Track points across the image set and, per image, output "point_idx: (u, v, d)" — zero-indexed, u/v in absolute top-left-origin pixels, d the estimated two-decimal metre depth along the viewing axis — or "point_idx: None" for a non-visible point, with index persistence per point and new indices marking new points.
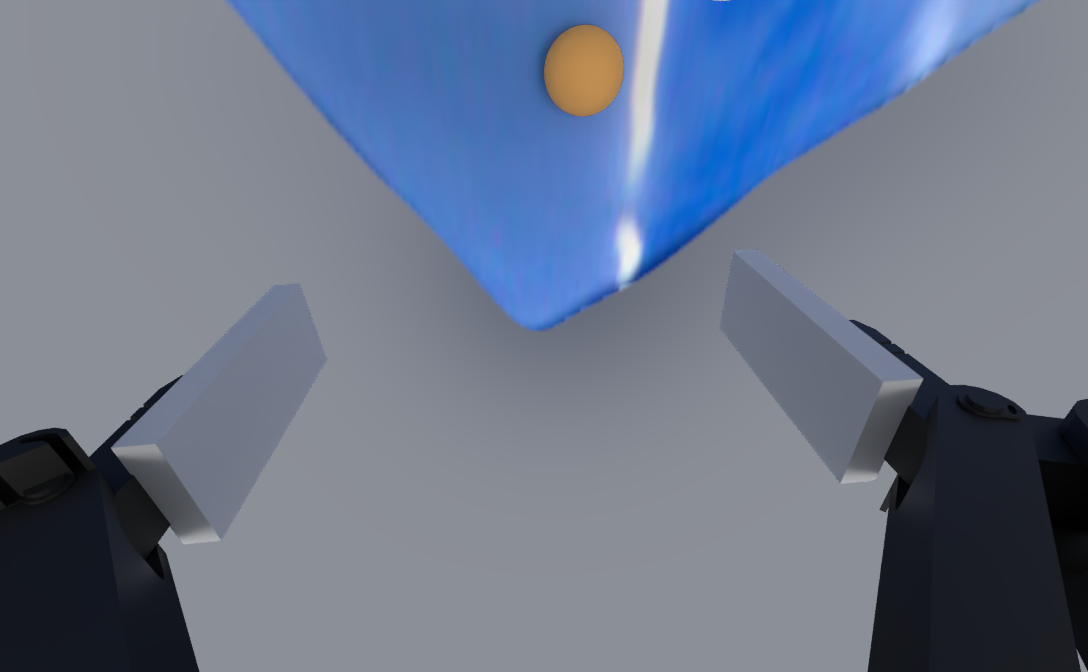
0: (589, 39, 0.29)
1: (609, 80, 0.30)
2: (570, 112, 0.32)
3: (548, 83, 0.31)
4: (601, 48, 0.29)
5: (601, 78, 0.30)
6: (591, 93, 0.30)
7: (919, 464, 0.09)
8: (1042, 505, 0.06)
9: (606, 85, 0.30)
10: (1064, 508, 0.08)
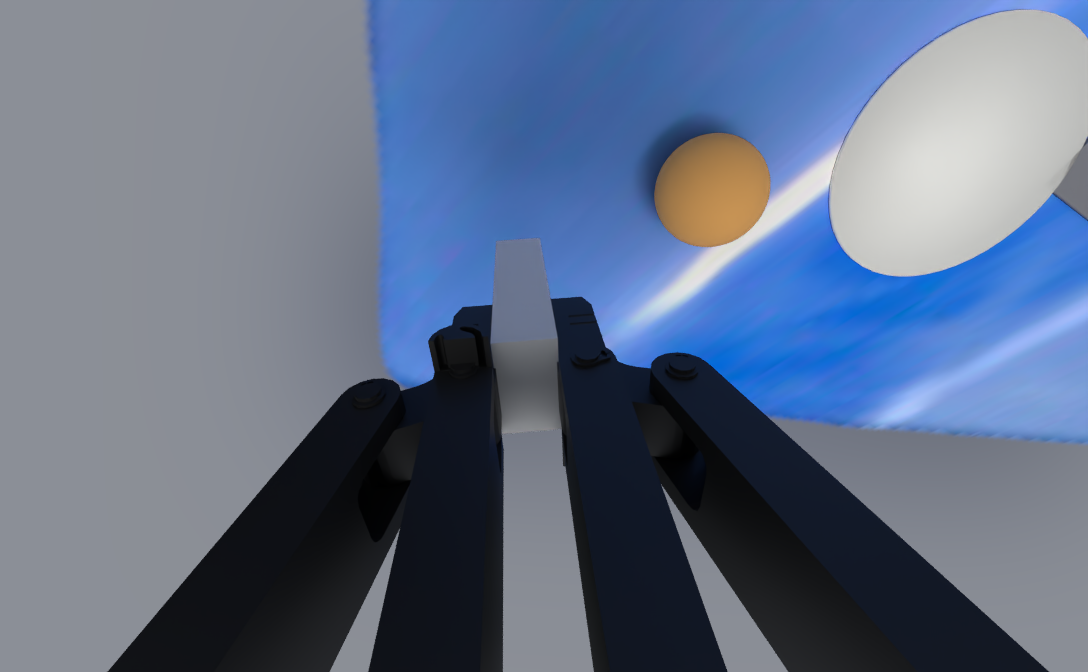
0: (760, 173, 0.21)
1: (737, 230, 0.22)
2: (666, 217, 0.23)
3: (677, 168, 0.22)
4: (762, 194, 0.21)
5: (735, 222, 0.22)
6: (712, 225, 0.22)
7: None
8: (636, 423, 0.08)
9: (730, 232, 0.22)
10: (650, 441, 0.10)
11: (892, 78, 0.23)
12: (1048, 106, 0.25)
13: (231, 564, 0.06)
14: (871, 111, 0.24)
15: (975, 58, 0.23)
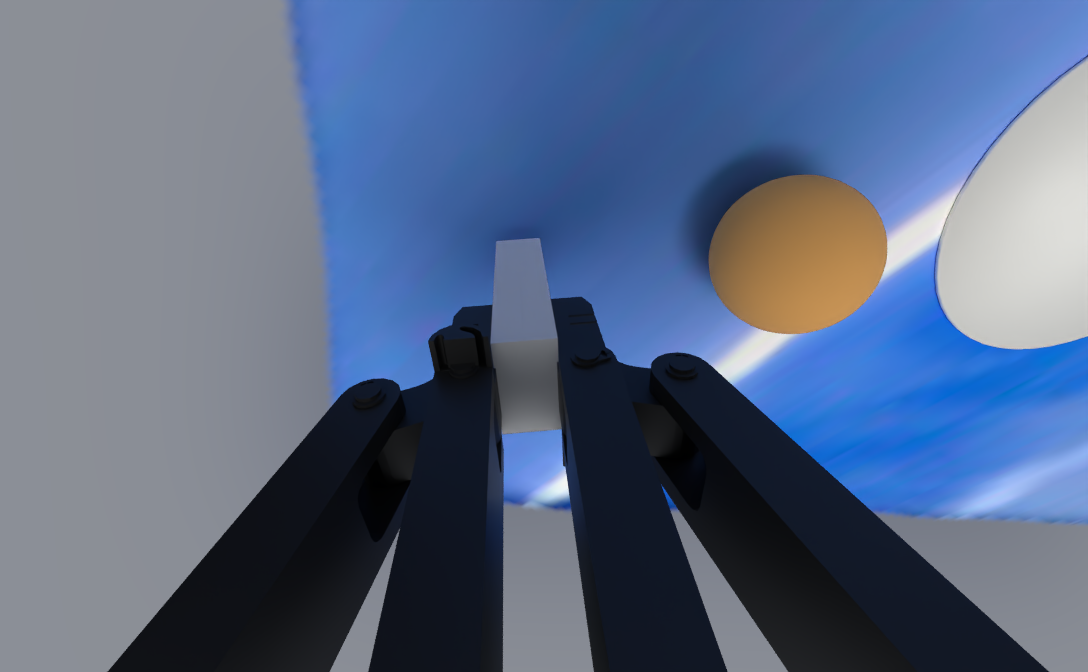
0: (879, 238, 0.14)
1: (838, 318, 0.15)
2: (729, 295, 0.16)
3: (751, 228, 0.15)
4: (880, 268, 0.14)
5: (839, 309, 0.15)
6: (804, 314, 0.15)
7: None
8: (636, 423, 0.08)
9: (828, 321, 0.15)
10: (649, 440, 0.10)
11: (1048, 93, 0.16)
12: None
13: (231, 564, 0.06)
14: (1012, 139, 0.17)
15: None
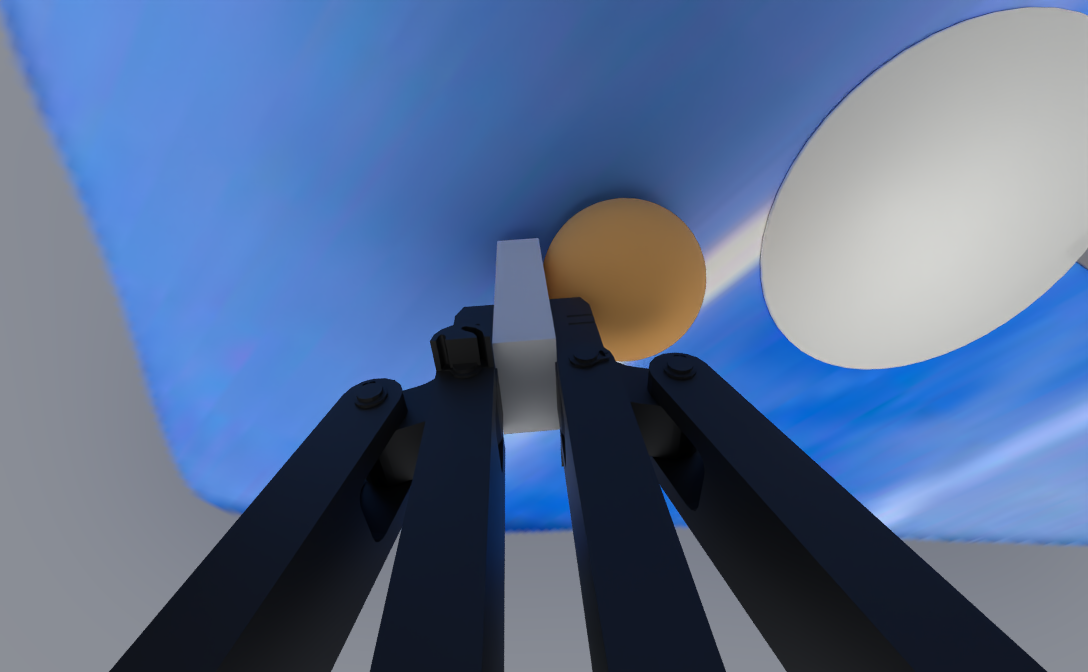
0: (698, 255, 0.14)
1: (679, 337, 0.15)
2: None
3: (580, 265, 0.14)
4: (704, 283, 0.14)
5: (679, 330, 0.14)
6: (649, 342, 0.14)
7: None
8: (634, 423, 0.08)
9: (671, 343, 0.15)
10: (647, 441, 0.10)
11: (837, 111, 0.16)
12: (1071, 147, 0.17)
13: (233, 564, 0.06)
14: (810, 158, 0.17)
15: (961, 80, 0.15)
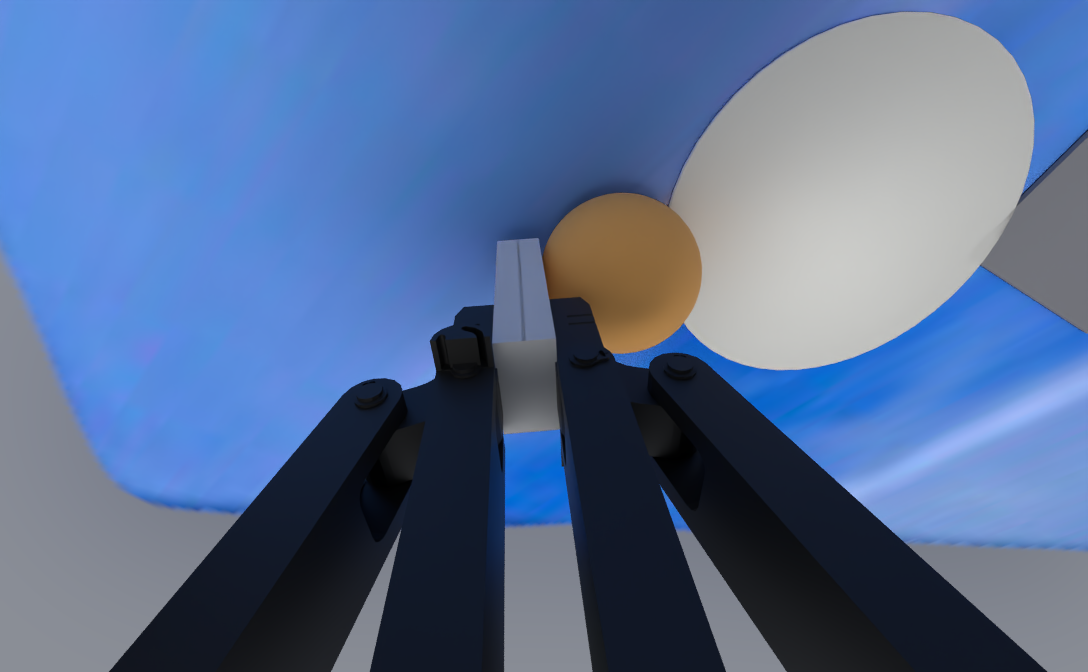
0: (694, 238, 0.15)
1: None
2: None
3: (602, 264, 0.14)
4: None
5: (690, 310, 0.15)
6: (671, 327, 0.15)
7: None
8: (634, 423, 0.08)
9: (682, 323, 0.16)
10: (648, 441, 0.10)
11: (722, 113, 0.16)
12: (961, 152, 0.17)
13: (233, 564, 0.06)
14: (700, 160, 0.17)
15: (844, 84, 0.16)
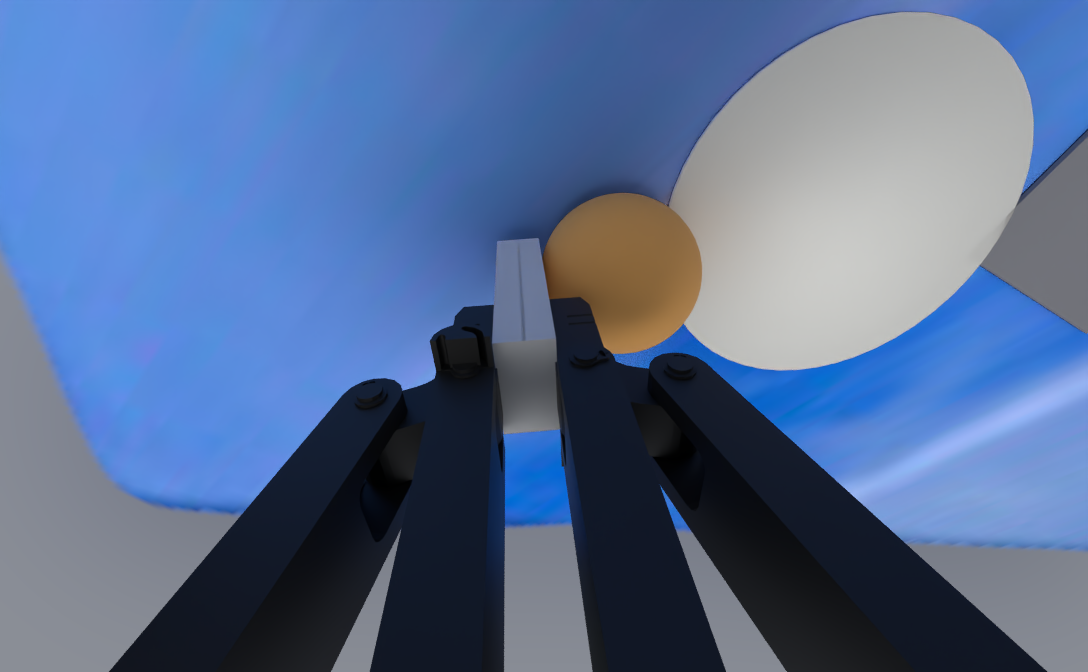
0: (694, 238, 0.15)
1: None
2: None
3: (602, 264, 0.13)
4: None
5: (691, 310, 0.15)
6: (671, 327, 0.15)
7: None
8: (634, 423, 0.08)
9: (682, 324, 0.16)
10: (648, 441, 0.10)
11: (722, 113, 0.16)
12: (961, 152, 0.17)
13: (233, 564, 0.06)
14: (700, 160, 0.17)
15: (843, 84, 0.16)
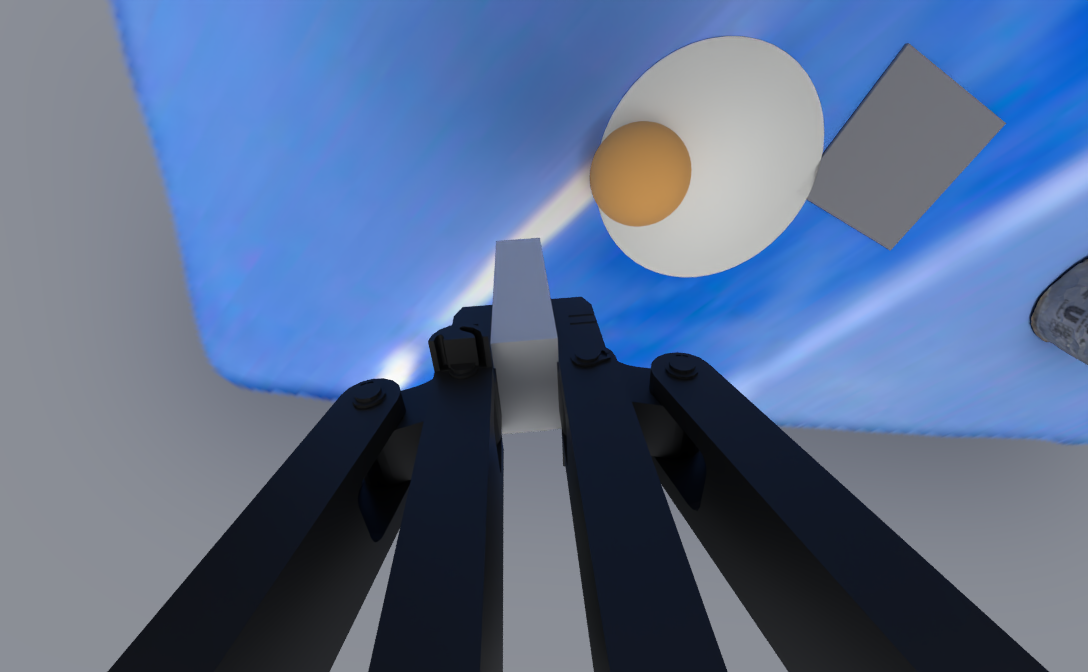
0: None
1: None
2: (689, 182, 0.25)
3: (678, 137, 0.24)
4: None
5: None
6: None
7: None
8: (636, 423, 0.08)
9: None
10: (650, 441, 0.10)
11: (625, 96, 0.26)
12: (779, 122, 0.27)
13: (231, 564, 0.06)
14: (614, 126, 0.27)
15: (698, 79, 0.26)
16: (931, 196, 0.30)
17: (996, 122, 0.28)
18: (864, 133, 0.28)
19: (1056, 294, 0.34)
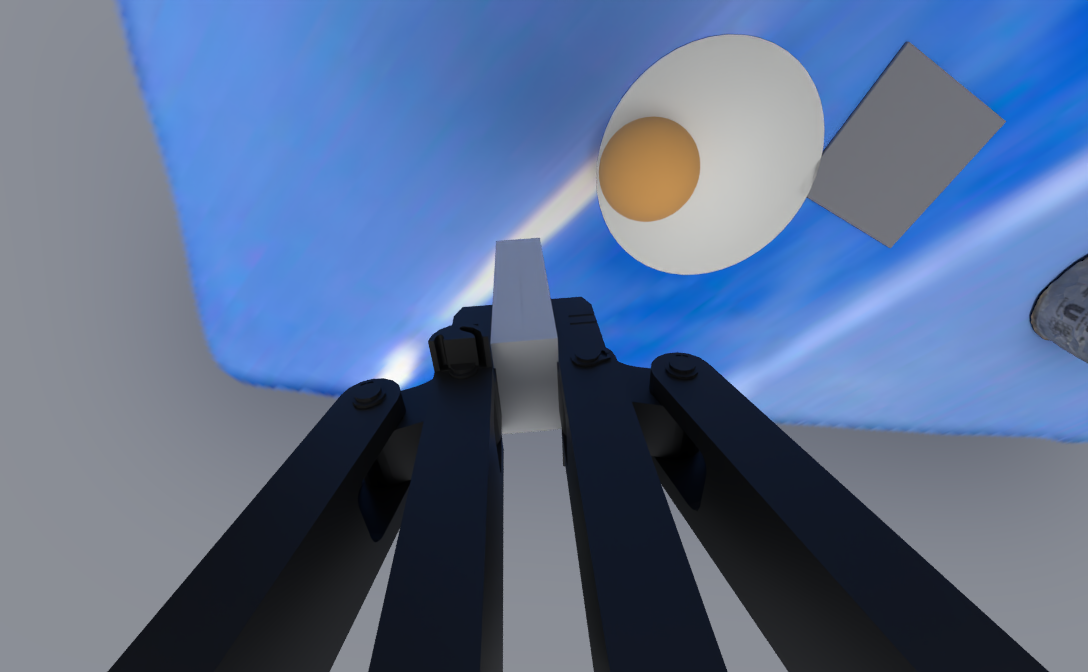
0: None
1: None
2: None
3: (687, 131, 0.24)
4: None
5: None
6: None
7: None
8: (636, 423, 0.08)
9: None
10: (650, 441, 0.10)
11: (626, 95, 0.26)
12: (779, 120, 0.27)
13: (231, 564, 0.06)
14: (615, 124, 0.27)
15: (698, 77, 0.26)
16: (931, 194, 0.30)
17: (996, 120, 0.28)
18: (864, 132, 0.28)
19: (1056, 292, 0.34)
